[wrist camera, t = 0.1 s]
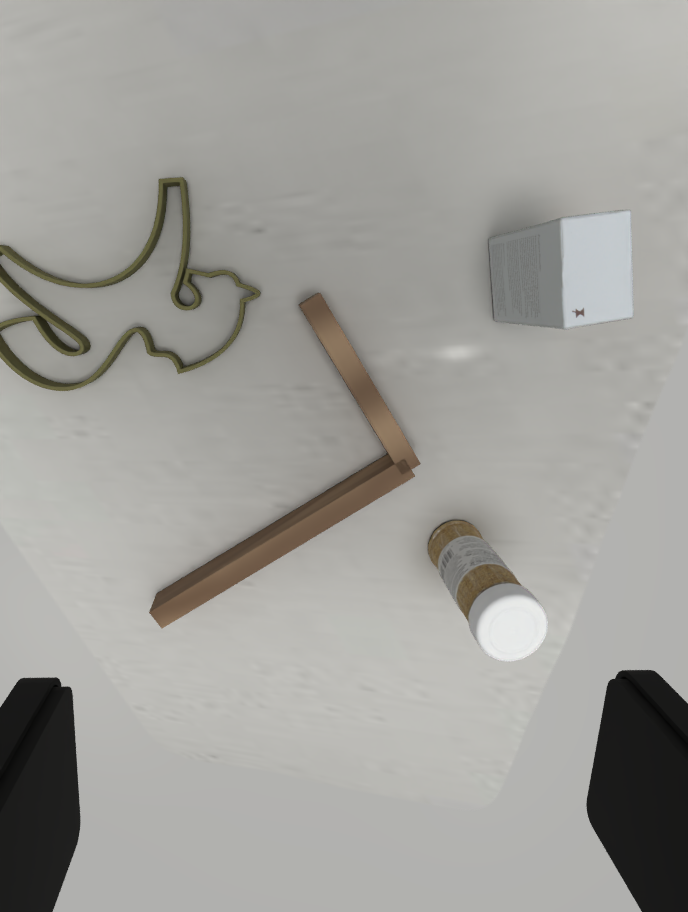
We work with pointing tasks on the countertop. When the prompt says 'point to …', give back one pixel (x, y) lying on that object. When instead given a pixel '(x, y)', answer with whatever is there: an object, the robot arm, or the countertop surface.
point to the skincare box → (564, 272)
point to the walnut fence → (319, 509)
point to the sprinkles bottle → (487, 593)
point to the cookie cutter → (183, 274)
